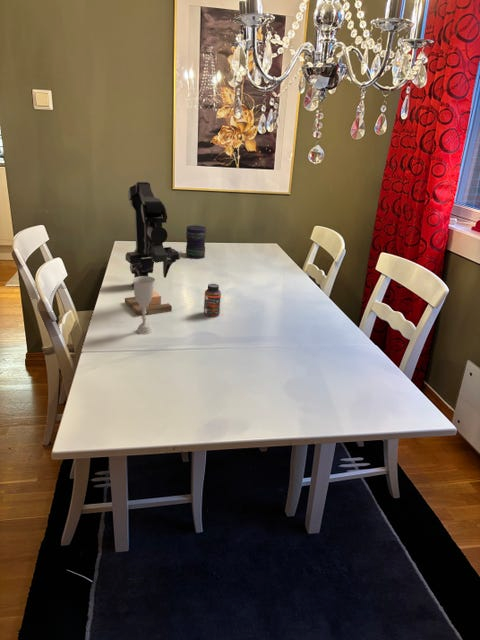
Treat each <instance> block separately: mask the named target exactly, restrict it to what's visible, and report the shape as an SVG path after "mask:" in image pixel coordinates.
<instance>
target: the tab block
mask: <svg viewBox="0 0 480 640" xmlns="http://www.w3.org/2000/svg"><path fill="white" fill-rule="evenodd" d="M160 304H162V296H161V295H160V294H159V293H158V292H157V291H156V290H153V296H152V299H151V301H150V303H149V305H148V306H153V305H160Z"/></svg>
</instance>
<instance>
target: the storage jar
mask: <svg viewBox="0 0 480 640" xmlns="http://www.w3.org/2000/svg"><path fill="white" fill-rule="evenodd" d="M206 229H207V227H206V226H202V225H195V224H193V225H187V226H186V234H185V235H186V237H185V238H186V246H185V247H186V248H185V257H186V258H188V259H192V260H201V259H204V258H205V257H206V237H207V233H206V232H207V231H206Z"/></svg>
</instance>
